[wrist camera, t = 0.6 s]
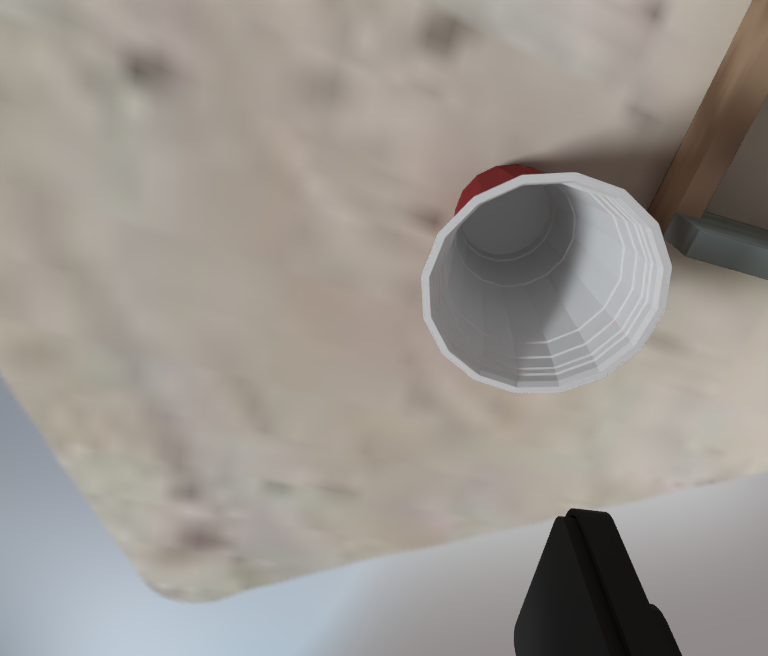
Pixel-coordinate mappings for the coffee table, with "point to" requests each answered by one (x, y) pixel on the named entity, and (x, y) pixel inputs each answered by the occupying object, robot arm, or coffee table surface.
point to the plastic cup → (544, 280)
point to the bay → (719, 158)
